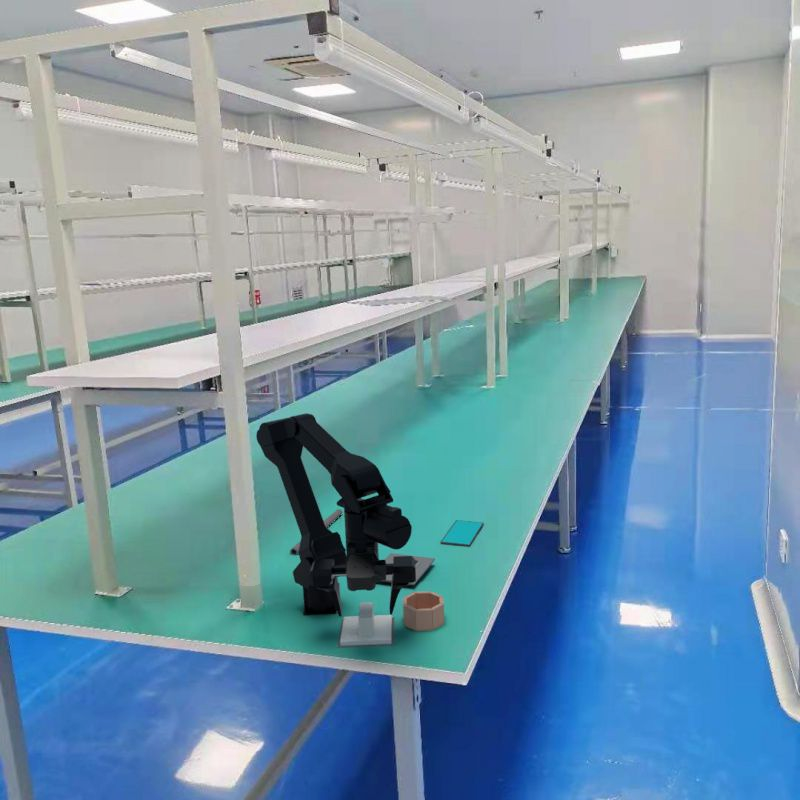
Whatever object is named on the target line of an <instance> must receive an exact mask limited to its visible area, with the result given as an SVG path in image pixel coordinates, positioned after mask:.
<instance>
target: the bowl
mask: <svg viewBox="0 0 800 800" xmlns="http://www.w3.org/2000/svg"><path fill="white" fill-rule="evenodd" d="M402 608H403V610H402V612H403V614H402V615H403V626H404V627H406V628H409V629H411V630H413V631H415V632H421V631H422V632H425V631H434V630H436V629H438V628H439V627H442V626H444V625H445V604H444V596H443V595H441V594H438V593H437V592H433V591H430V590H429V591H413V592H412V593H410V594H407V595H405V596H404V597H402Z"/></svg>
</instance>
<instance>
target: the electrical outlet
mask: <svg viewBox="0 0 800 800" xmlns="http://www.w3.org/2000/svg"><path fill="white" fill-rule="evenodd" d="M396 556H412V557H413V558H414V559H415V569H416V581H415V582H413V583H409V585H408V586H407V587H414V586H415V585H416V583H417V582H418V581H419V580H420V579H421V577H423V575H424V574H425V573H426V571H427V570H428V569H429V568H430V567H431V566H432V564H433V563H434V562H435V560H436V558H435V557H425V556H418V555H411V554H403V553H395V552H394V553H393V552H390V554H388V555H387V556H386V558H384V560H385V561H386V564H391V563H393V558H394V557H396ZM380 583H385V584H391V583H392V575H386V580H382V581H381V582H380Z"/></svg>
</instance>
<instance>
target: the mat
mask: <svg viewBox="0 0 800 800" xmlns="http://www.w3.org/2000/svg"><path fill="white" fill-rule="evenodd" d="M343 620H344V618H343V619H341V621H340V629H339V636H338V641H337V647H336V648H338V649H339V648H361V647H362V648H364V647H367V648H368V647H369V648H370V647H387V646H388V647H389V646H391V647H393V646H395V620H396V618H395V617H392V638H391V644H376V645H349V646H340V640H341V633H342V627H343Z"/></svg>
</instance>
